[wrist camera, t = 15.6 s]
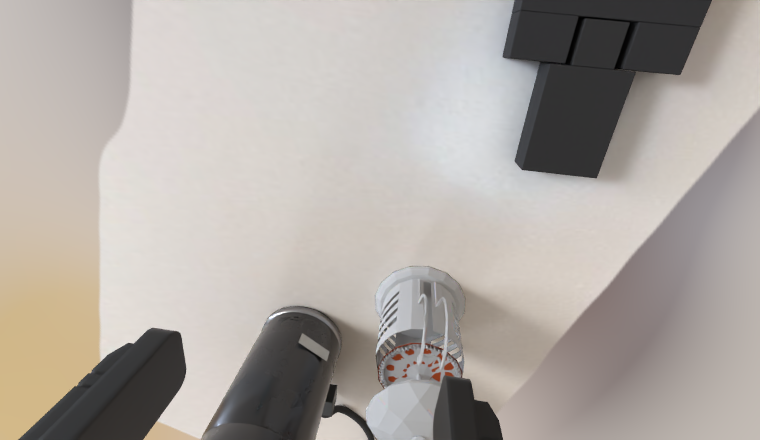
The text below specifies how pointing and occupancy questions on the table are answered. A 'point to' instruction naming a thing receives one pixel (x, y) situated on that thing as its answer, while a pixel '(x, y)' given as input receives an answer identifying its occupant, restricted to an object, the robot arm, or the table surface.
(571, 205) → the table surface
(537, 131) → the small pad
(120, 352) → the robot arm
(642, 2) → the large pad
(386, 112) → the table surface
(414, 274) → the french press
